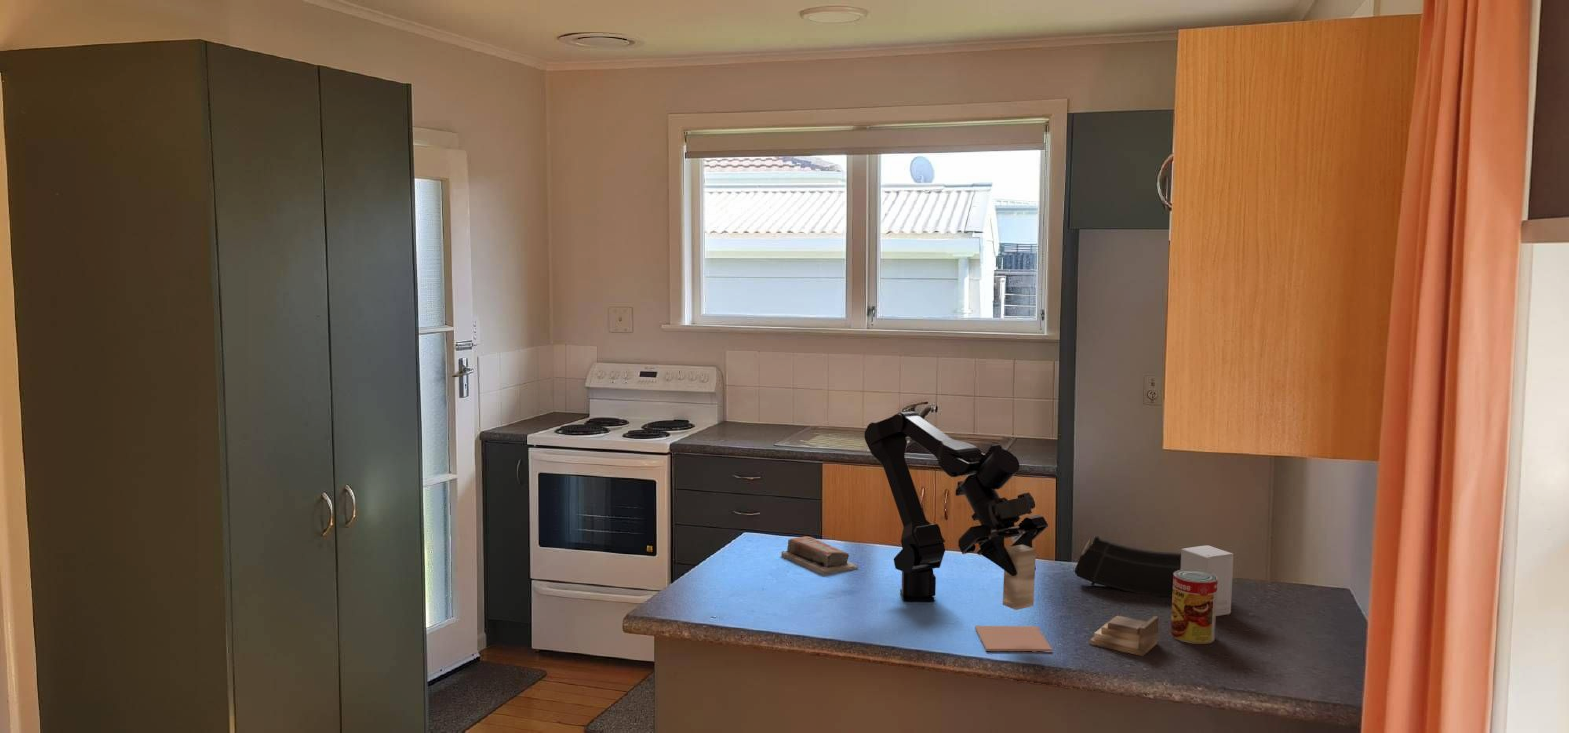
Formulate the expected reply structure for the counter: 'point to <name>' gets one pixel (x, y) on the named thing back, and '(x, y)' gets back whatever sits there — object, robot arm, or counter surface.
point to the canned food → (1194, 606)
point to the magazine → (1128, 567)
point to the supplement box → (1212, 571)
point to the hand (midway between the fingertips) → (1024, 573)
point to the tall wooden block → (1020, 578)
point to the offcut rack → (1127, 635)
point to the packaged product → (817, 556)
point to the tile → (1012, 638)
